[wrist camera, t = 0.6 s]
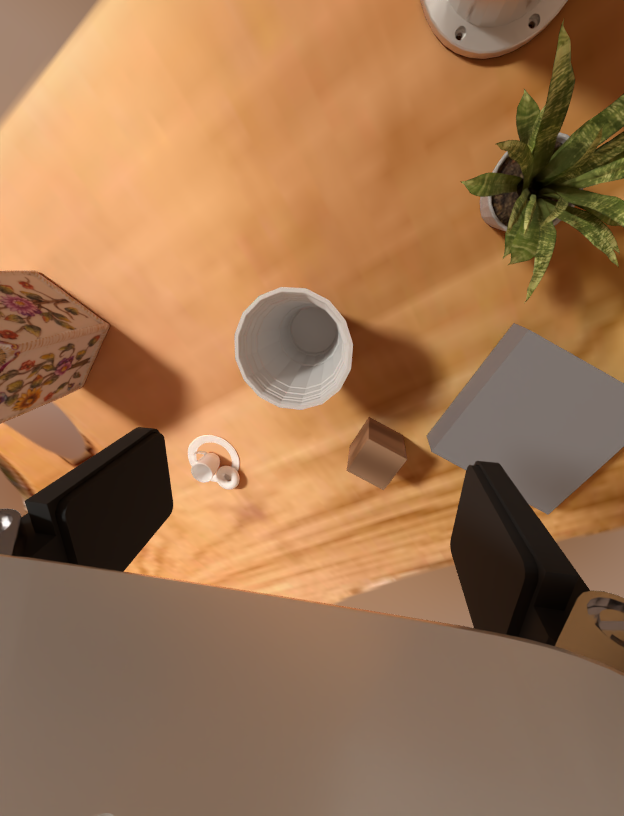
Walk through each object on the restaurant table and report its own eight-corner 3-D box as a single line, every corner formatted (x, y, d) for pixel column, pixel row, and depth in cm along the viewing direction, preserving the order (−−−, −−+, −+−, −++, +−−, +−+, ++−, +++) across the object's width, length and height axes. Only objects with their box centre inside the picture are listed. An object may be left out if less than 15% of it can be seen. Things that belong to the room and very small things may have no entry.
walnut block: (369, 416, 44) (368, 438, 39) (402, 435, 44) (407, 459, 39) (349, 445, 46) (346, 470, 41) (382, 463, 46) (383, 490, 41)
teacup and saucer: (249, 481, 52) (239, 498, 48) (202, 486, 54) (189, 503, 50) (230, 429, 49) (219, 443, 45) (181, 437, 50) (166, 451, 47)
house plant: (551, 302, 36) (677, 331, 21) (417, 279, 37) (447, 291, 22) (622, 133, 30) (870, 6, 15) (461, 113, 31) (541, -23, 16)
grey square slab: (513, 323, 37) (529, 329, 33) (638, 393, 38) (666, 407, 34) (426, 435, 44) (431, 451, 40) (533, 493, 44) (548, 514, 41)
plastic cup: (329, 260, 38) (310, 259, 27) (375, 345, 40) (376, 376, 29) (251, 311, 41) (207, 329, 30) (298, 386, 44) (274, 428, 33)
